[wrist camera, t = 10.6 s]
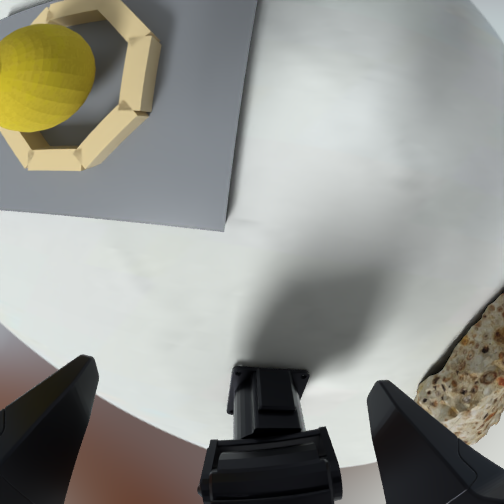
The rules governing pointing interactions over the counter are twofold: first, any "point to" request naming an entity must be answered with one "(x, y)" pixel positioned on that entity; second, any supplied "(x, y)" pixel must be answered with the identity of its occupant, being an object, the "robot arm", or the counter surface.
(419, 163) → the counter surface
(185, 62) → the plate
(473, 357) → the rock
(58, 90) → the lemon
